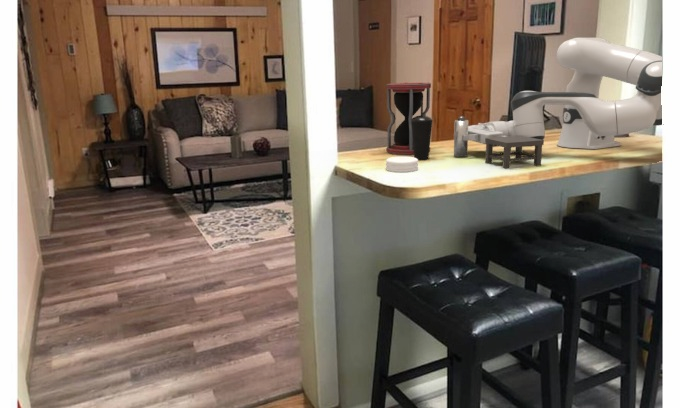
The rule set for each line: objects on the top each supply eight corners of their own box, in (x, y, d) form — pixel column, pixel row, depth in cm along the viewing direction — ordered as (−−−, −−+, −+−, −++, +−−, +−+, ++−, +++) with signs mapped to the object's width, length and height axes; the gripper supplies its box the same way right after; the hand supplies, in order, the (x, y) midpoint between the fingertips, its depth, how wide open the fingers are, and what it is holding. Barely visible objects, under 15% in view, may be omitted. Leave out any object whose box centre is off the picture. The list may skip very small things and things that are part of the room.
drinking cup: (419, 156, 185) (419, 98, 180) (437, 158, 180) (438, 99, 175) (405, 159, 180) (405, 100, 175) (423, 161, 175) (424, 101, 170)
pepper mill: (463, 153, 184) (464, 115, 181) (469, 155, 180) (471, 116, 177) (451, 154, 183) (452, 115, 180) (457, 156, 179) (458, 116, 175)
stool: (519, 159, 174) (520, 135, 171) (541, 165, 162) (543, 140, 160) (484, 162, 170) (485, 138, 168) (505, 169, 159) (506, 143, 157)
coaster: (379, 170, 164) (379, 159, 163) (399, 165, 171) (399, 155, 170) (404, 174, 157) (404, 162, 156) (424, 169, 164) (424, 158, 163)
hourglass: (433, 154, 188) (434, 83, 181) (388, 155, 188) (388, 84, 181) (426, 147, 203) (427, 81, 197) (384, 148, 203) (384, 83, 197)
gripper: (510, 147, 175) (473, 150, 171) (478, 139, 194) (445, 142, 190) (511, 128, 173) (474, 130, 169) (479, 122, 192) (445, 124, 188)
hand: (458, 136), depth 180 cm, fingers closed on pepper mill, 5 cm apart
